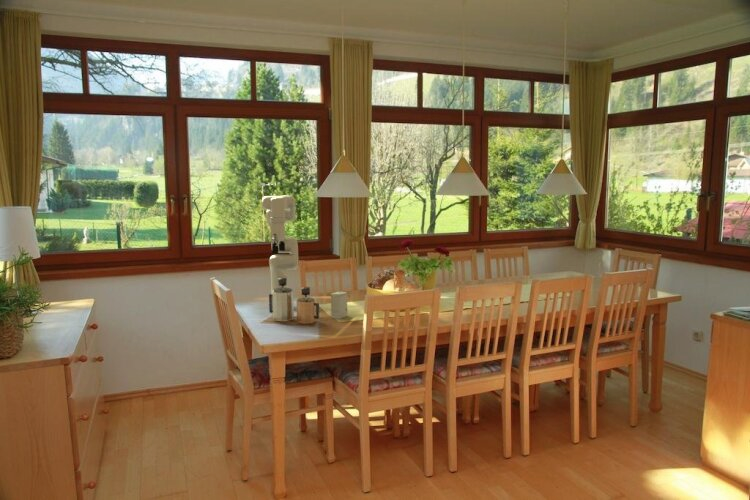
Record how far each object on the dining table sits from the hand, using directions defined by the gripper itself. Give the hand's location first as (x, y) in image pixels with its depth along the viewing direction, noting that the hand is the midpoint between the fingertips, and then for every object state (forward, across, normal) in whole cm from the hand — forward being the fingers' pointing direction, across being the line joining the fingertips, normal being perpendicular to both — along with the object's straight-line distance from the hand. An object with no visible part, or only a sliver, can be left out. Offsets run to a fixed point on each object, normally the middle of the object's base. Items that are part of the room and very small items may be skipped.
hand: (278, 251), depth 309 cm
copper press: (+37, +4, +18) cm, 41 cm away
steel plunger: (+33, +2, +3) cm, 33 cm away
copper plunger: (+33, +4, +17) cm, 37 cm away
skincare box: (+38, -10, +31) cm, 50 cm away
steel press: (+37, +2, +2) cm, 37 cm away
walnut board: (+38, +3, +9) cm, 39 cm away
